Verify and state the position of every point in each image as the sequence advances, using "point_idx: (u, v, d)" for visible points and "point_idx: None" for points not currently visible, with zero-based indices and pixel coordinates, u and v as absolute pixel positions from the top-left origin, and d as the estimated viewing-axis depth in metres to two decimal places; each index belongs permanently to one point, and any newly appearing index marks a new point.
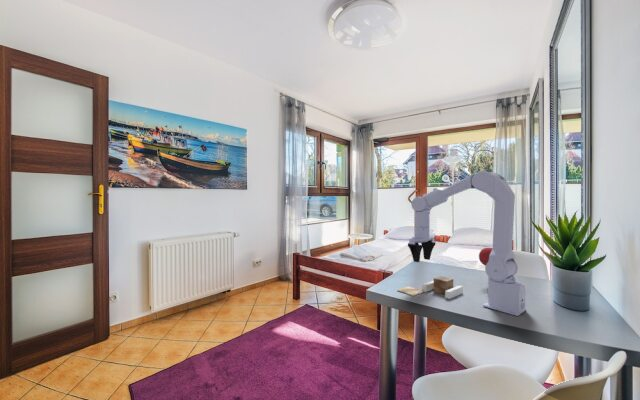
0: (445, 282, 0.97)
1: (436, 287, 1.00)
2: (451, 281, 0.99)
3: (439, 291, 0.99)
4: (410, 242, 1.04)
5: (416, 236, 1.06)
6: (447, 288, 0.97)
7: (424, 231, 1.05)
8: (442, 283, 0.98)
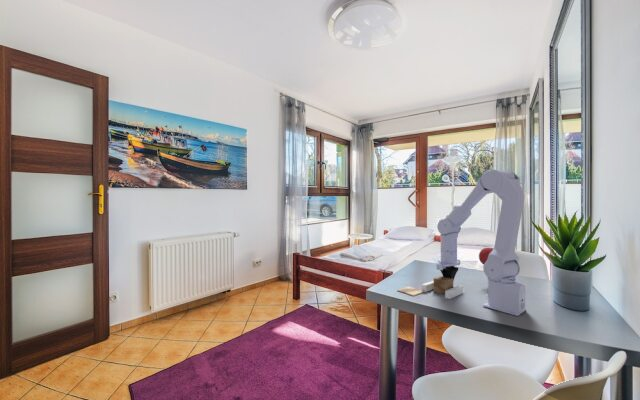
0: (445, 282, 0.97)
1: (435, 287, 1.00)
2: (451, 281, 0.99)
3: (439, 291, 0.99)
4: (437, 267, 0.99)
5: (443, 260, 1.02)
6: (447, 288, 0.97)
7: (452, 256, 1.00)
8: (442, 283, 0.98)
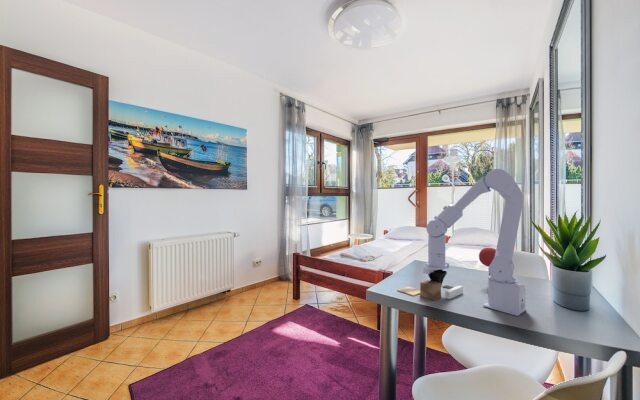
0: (432, 286, 0.92)
1: (422, 292, 0.95)
2: (438, 285, 0.94)
3: (426, 296, 0.94)
4: (424, 271, 0.93)
5: (430, 264, 0.96)
6: (434, 293, 0.92)
7: (440, 259, 0.95)
8: (429, 287, 0.93)
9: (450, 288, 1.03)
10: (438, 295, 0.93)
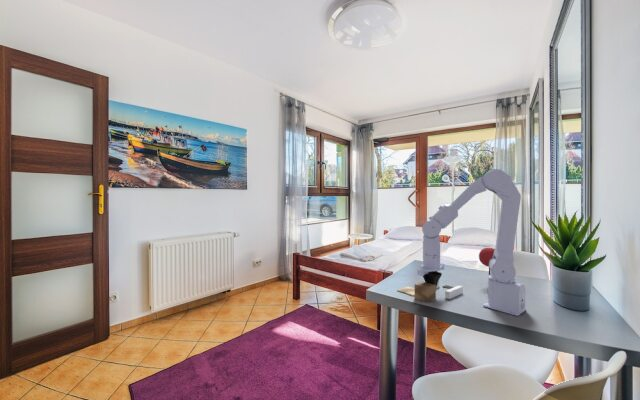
0: (426, 289, 0.90)
1: (417, 294, 0.92)
2: (433, 287, 0.91)
3: (420, 298, 0.91)
4: (418, 273, 0.91)
5: (425, 265, 0.94)
6: (428, 295, 0.90)
7: (434, 260, 0.93)
8: (423, 290, 0.91)
9: (450, 288, 1.03)
10: (432, 297, 0.91)
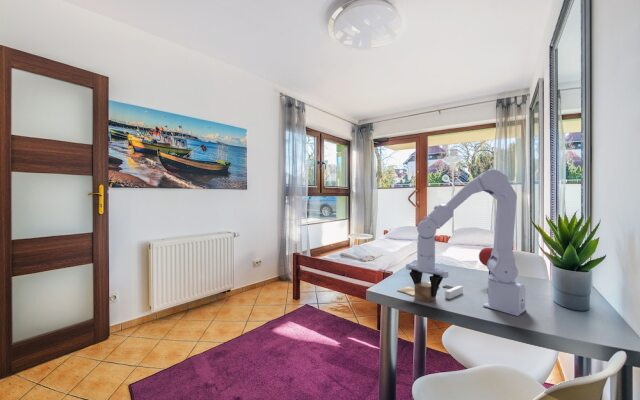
0: (426, 288, 0.90)
1: (417, 294, 0.92)
2: None
3: (420, 298, 0.91)
4: None
5: None
6: (429, 295, 0.90)
7: (418, 259, 0.93)
8: (423, 290, 0.91)
9: (450, 288, 1.03)
10: (433, 297, 0.91)
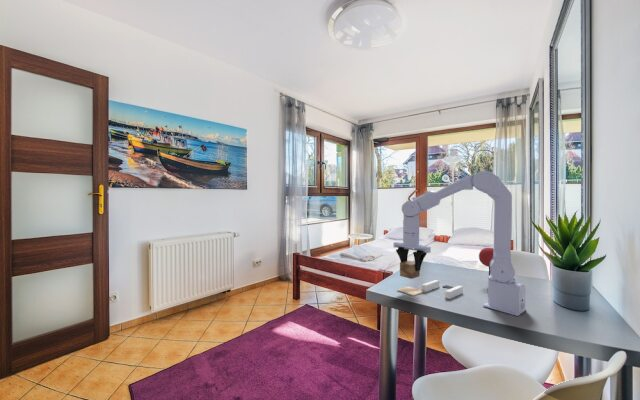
0: (410, 266, 0.97)
1: (402, 271, 0.99)
2: None
3: (405, 275, 0.98)
4: None
5: None
6: (412, 272, 0.97)
7: (403, 237, 1.00)
8: (407, 267, 0.97)
9: (450, 288, 1.03)
10: (416, 274, 0.98)
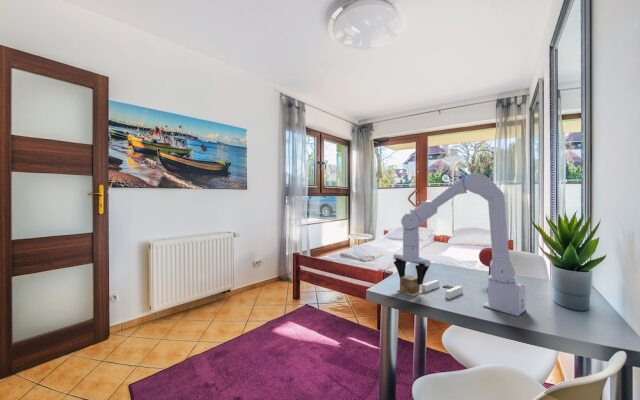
0: (410, 281, 0.97)
1: (402, 286, 1.00)
2: None
3: (405, 290, 0.99)
4: None
5: None
6: (412, 287, 0.97)
7: (403, 249, 1.00)
8: (407, 282, 0.98)
9: (450, 288, 1.03)
10: (416, 289, 0.98)
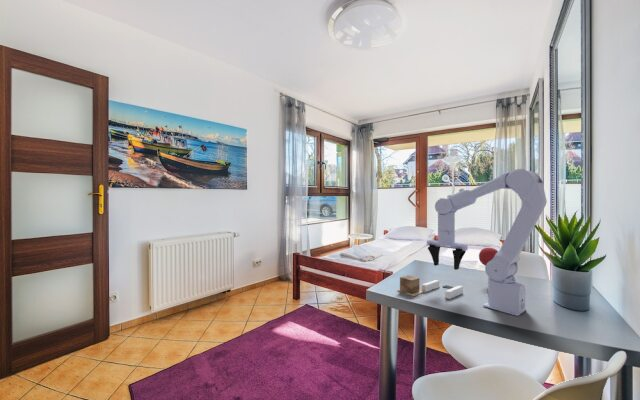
0: (410, 281, 0.97)
1: (402, 286, 1.00)
2: (417, 280, 0.99)
3: (405, 290, 0.99)
4: None
5: None
6: (412, 287, 0.97)
7: (438, 234, 1.00)
8: (407, 282, 0.98)
9: (450, 288, 1.03)
10: (416, 289, 0.98)
